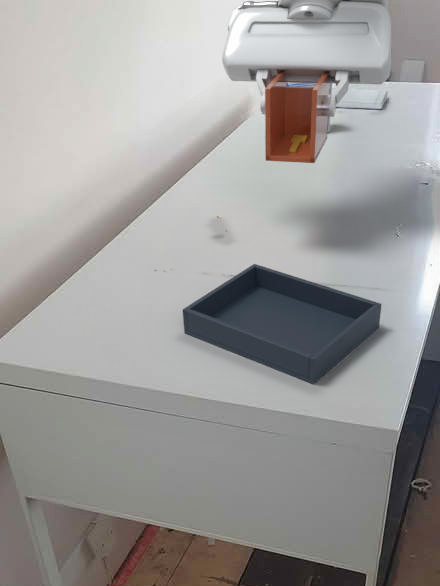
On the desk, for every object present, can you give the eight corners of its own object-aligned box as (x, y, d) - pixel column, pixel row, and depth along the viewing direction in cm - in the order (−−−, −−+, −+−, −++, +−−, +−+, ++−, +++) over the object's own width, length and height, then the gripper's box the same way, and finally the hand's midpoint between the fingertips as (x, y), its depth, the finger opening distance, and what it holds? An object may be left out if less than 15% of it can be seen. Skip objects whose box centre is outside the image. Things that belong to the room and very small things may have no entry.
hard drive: (318, 98, 141) (382, 100, 138) (326, 87, 147) (387, 89, 143) (317, 107, 142) (381, 110, 139) (326, 95, 148) (387, 98, 144)
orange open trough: (281, 136, 93) (281, 68, 88) (327, 138, 92) (330, 69, 86) (265, 160, 87) (265, 88, 81) (314, 163, 85) (317, 90, 80)
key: (293, 138, 91) (294, 134, 90) (308, 138, 90) (308, 135, 90) (285, 152, 87) (285, 148, 87) (299, 152, 87) (299, 149, 86)
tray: (379, 327, 79) (381, 303, 77) (313, 384, 72) (314, 359, 70) (254, 286, 88) (254, 263, 86) (184, 333, 80) (182, 309, 78)
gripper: (226, -17, 86) (208, 95, 85) (400, -18, 81) (382, 100, 80) (237, 19, 92) (220, 124, 91) (400, 19, 87) (382, 130, 87)
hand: (297, 113), depth 86 cm, fingers closed on orange open trough, 6 cm apart
